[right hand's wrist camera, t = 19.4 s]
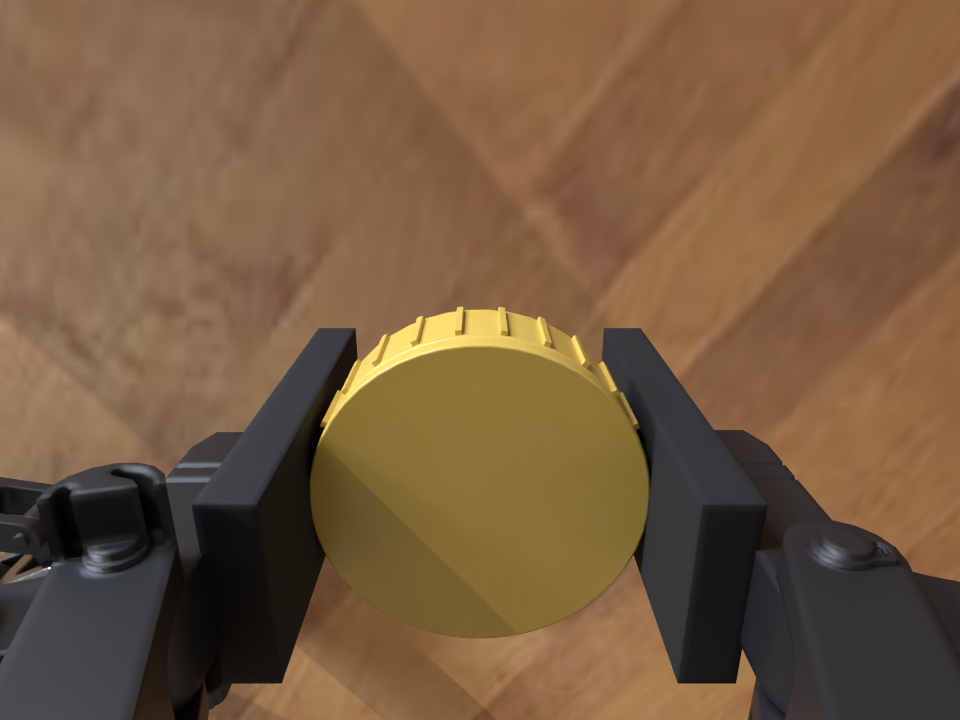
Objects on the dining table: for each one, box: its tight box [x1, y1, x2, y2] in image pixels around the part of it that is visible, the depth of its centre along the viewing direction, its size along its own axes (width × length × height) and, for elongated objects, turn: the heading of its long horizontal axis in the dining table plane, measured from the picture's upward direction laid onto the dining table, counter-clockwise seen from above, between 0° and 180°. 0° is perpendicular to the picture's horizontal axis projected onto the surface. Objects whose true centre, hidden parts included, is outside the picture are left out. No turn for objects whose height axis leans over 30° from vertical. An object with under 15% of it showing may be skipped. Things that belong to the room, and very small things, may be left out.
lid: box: [309, 307, 650, 638], centre depth 11 cm, size 5×5×2 cm
